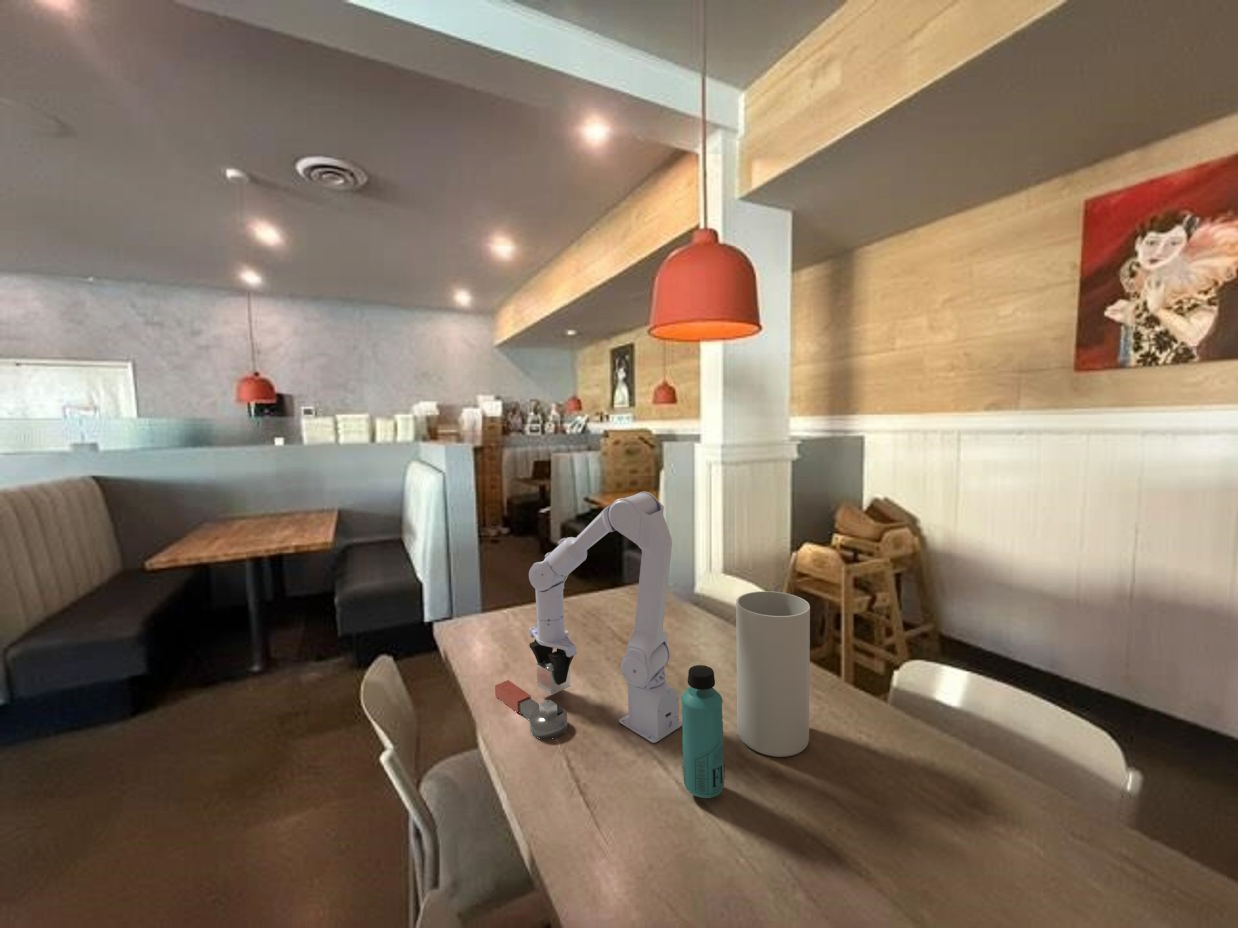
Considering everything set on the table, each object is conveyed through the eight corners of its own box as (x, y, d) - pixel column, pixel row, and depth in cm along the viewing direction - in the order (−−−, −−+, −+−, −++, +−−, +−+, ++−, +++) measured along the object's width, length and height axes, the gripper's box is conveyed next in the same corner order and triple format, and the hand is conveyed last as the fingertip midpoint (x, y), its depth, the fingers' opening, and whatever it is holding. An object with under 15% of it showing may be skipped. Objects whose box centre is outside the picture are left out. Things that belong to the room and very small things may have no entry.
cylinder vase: (759, 709, 103) (759, 586, 100) (821, 735, 94) (822, 601, 92) (723, 737, 94) (722, 604, 92) (787, 769, 85) (788, 623, 83)
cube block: (570, 686, 110) (569, 662, 109) (551, 695, 106) (549, 670, 106) (556, 678, 113) (555, 654, 113) (537, 686, 110) (536, 662, 109)
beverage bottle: (715, 814, 76) (714, 684, 74) (674, 798, 80) (672, 673, 78) (731, 787, 82) (730, 665, 80) (692, 772, 85) (690, 656, 83)
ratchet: (574, 728, 98) (574, 704, 98) (544, 744, 93) (543, 719, 93) (516, 687, 114) (515, 666, 113) (487, 700, 109) (486, 678, 108)
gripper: (587, 619, 106) (589, 683, 107) (546, 602, 116) (549, 660, 118) (559, 629, 101) (562, 696, 102) (519, 611, 112) (522, 671, 113)
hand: (553, 678), depth 110 cm, fingers closed on cube block, 5 cm apart
